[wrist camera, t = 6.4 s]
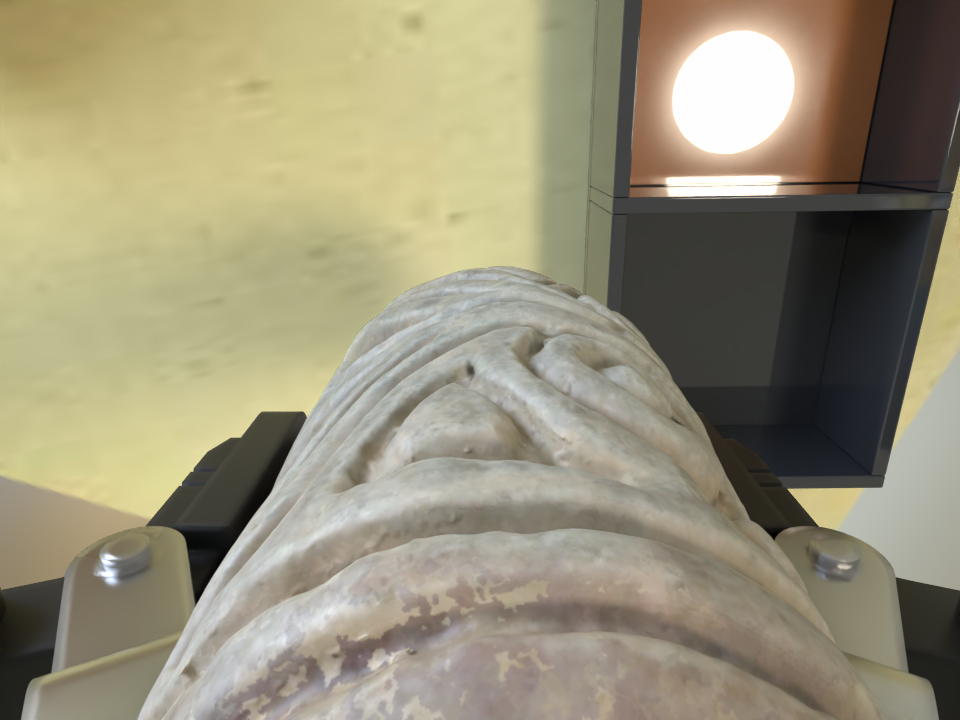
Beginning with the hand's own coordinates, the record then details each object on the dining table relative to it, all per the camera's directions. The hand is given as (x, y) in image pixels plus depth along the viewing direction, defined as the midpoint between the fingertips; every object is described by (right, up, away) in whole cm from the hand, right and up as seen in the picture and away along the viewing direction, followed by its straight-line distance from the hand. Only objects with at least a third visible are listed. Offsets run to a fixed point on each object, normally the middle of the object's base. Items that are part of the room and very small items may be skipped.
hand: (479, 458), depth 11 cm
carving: (0, +1, +4) cm, 4 cm away
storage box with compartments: (+11, +9, +16) cm, 22 cm away
